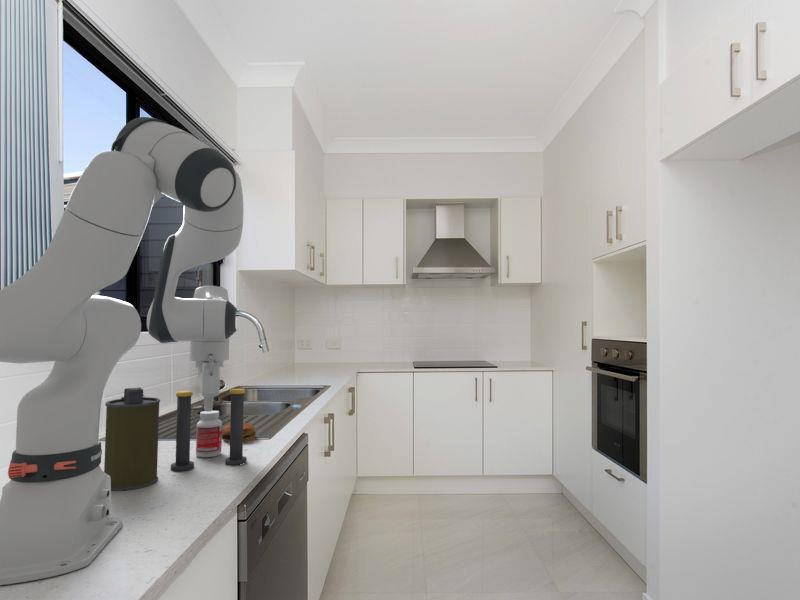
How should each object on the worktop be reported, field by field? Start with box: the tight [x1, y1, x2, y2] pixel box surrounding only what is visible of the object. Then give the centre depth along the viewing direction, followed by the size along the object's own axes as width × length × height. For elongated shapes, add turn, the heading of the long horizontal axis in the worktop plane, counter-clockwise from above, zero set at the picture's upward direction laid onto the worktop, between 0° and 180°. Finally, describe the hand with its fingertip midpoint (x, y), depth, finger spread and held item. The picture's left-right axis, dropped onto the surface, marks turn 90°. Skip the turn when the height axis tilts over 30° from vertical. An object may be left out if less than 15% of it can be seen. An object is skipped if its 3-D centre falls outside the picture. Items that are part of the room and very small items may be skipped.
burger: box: [222, 422, 257, 443], centre depth 143 cm, size 10×9×5 cm
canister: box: [103, 387, 161, 492], centre depth 105 cm, size 11×10×20 cm
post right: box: [224, 388, 248, 466], centre depth 120 cm, size 5×5×18 cm
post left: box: [170, 390, 195, 472], centre depth 115 cm, size 5×5×18 cm
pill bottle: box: [195, 410, 223, 458], centre depth 127 cm, size 6×6×11 cm
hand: (208, 410), depth 118 cm, fingers closed
